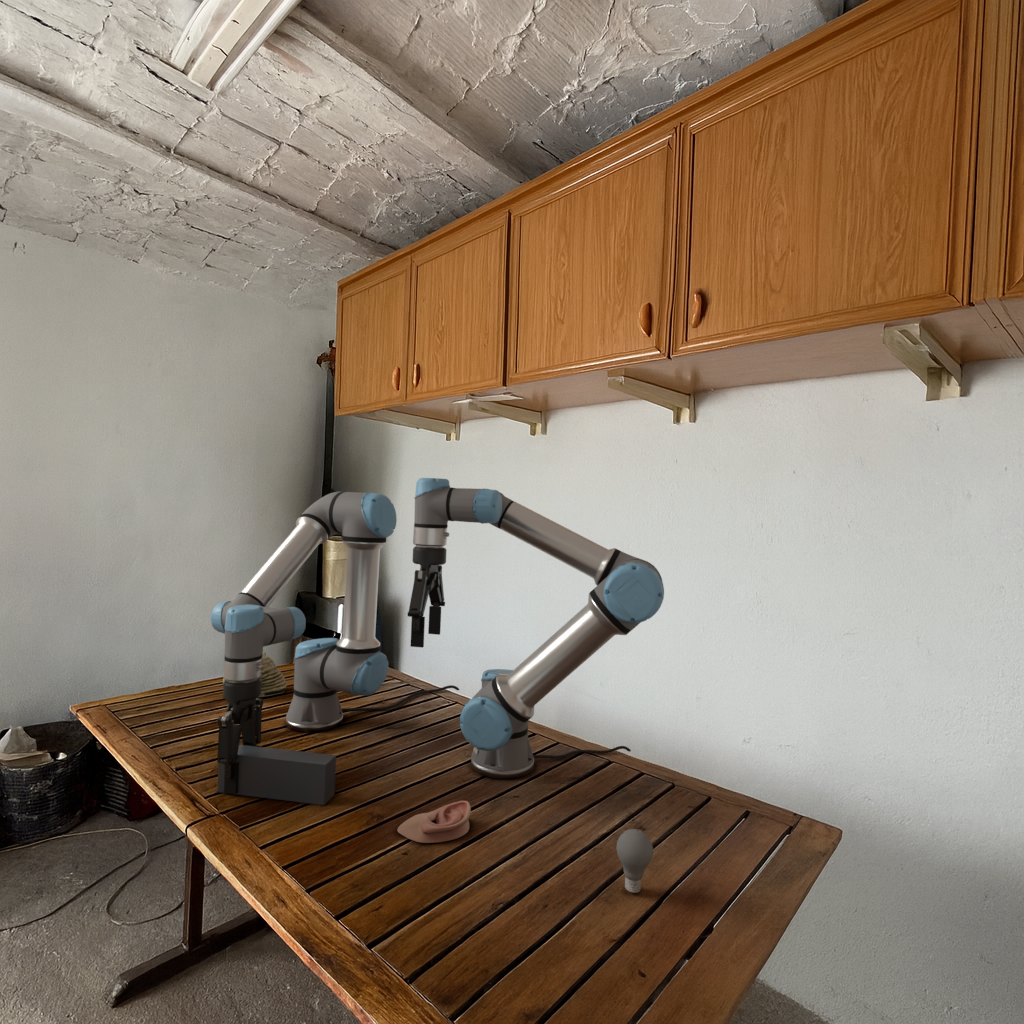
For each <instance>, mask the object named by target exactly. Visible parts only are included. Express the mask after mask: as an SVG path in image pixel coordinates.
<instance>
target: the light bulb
mask: <svg viewBox="0 0 1024 1024" xmlns="http://www.w3.org/2000/svg"><path fill="white" fill-rule="evenodd" d="M615 849H616V854H617V857H618V859H619V861H620V863H621V865H622V867H623V873H624V874H623V875H624V876H625V878H624V888H625V890H627V891H628V892H630V893H634V894H635V893H639V892H640V891H641V889H642V887H641V886H642V879H643V877H644V875H645V871H646V868H647V867H648V866H649V864H650V863H651V861H652V859H653V855H654V847H653V843H652V841H651V838H649V836H648V835H647V834H646V833H645V832H643V831H642V830H641V829H636V828H629V829H627V830H625V831H623V832H622V833H621V834H620V835H619V837H618V839H617V841H616V847H615Z"/></svg>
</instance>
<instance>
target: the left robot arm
mask: <svg viewBox="0 0 1024 1024" xmlns="http://www.w3.org/2000/svg"><path fill="white" fill-rule="evenodd" d="M397 520H398V519H397V512H396V508H395V505H394V504H393V502H392V500H391V499H390V498H389V497H388V496H386V495H385V494H382V493H377V492H372V491H369V492H363V491H362V492H358V491H357V492H356V491H333V492H330V493H328V494H325V495H324V496H322V497H321V498H318V499H317V500H316V501H314V502H313V503H312V504H311V505H309V506H308V507H307V508H306V509H305V510H304V511H303V512H302V514H301V515H299V517H298V518H297V519H296V520H295V527H294V528H293V530H292V531H290V533H289V534H288V535H287V536H286V538H285V539H284V540H283V541H282V543H281V544H280V545H279V546H278V547H277V548H276V549H275V551H274V552H273V553H272V554H271V555H270V557H269V558H267V560H266V561H265V562H264V563H263V564H262V566H261V567H260V568H259V569H258V570H257V572H256V573H255V574H254V575H253V576H252V577H251V578H250V579H249V581H248V582H247V583H246V584H245V585H244V587H242V589H241V590H240V591H239V592H238V594H236V596H235V597H234V598H233V600H227V601H226V600H225V601H221V602H219V603H217V604H216V605H215V607H214V608H213V609H212V612H211V615H210V623H211V626H212V628H213V629H214V630H215V631H216V632H219V633H221V634H224V657H223V659H224V660H223V673H222V674H223V675H222V678H223V677H224V678H225V679H226V680H225V681H224V682H223V681H222V689H223V690H222V698H223V699H224V700H226V701H227V706H226V712H225V714H224V715H223V716H222V715H219V716H218V717H217V725H218V740H217V741H218V742H217V759H216V760H217V764H218V763H222V764H224V765H225V768H224V793H223V794H229V793H232V794H231V795H237V794H236V793H238V773H239V762H237V761H236V760H237V754H238V748H239V745H240V741H242V745H247V746H256V747H261V745H260V744H261V742H262V719H263V715H262V713H263V705H264V699H263V698H260V697H259V696H260V694H261V679H260V678H259V677H260V676H261V672H262V667H263V665H262V654H263V650H264V647H269V646H272V645H276V644H280V643H284V642H290V641H293V640H295V639H297V638H299V637H301V636H302V635H303V634H304V632H305V630H306V624H307V620H306V616H305V613H304V612H303V611H302V610H301V609H300V608H299V607H296V606H284V607H282V608H275V607H270V606H271V605H272V604H273V602H274V601H275V600H276V599H277V597H278V596H279V595H280V593H281V592H283V590H284V588H285V587H286V586H287V585H288V584H289V582H290V581H291V580H292V578H294V576H295V575H296V574H297V572H298V571H299V570H300V569H301V567H302V566H303V565H304V564H305V563H306V561H307V560H308V559H309V558H310V556H311V555H312V554H313V553H314V551H315V550H316V548H317V547H318V546H319V545H320V544H325V543H326V542H327V541H328V540H329V539H330V538H331V537H332V536H335V535H338V534H339V535H341V536H342V537H341V542H342V544H343V545H344V546H345V547H346V549H347V553H346V570H345V586H344V604H343V605H344V606H343V623H342V637H341V638H340V639H339V638H336V637H322V638H313V639H307V640H304V641H302V642H299V643H298V644H297V645H296V647H295V652H294V653H295V654H294V657H293V662H294V663H293V665H294V666H293V695H292V696H293V697H292V699H291V702H290V704H289V707H288V711H287V713H286V715H285V726H286V728H287V729H289V730H291V731H294V732H295V731H296V732H301V733H316V732H325V731H329V730H332V729H335V728H337V727H339V726H340V725H342V723H343V722H344V713H346V712H367V711H384V710H389V709H393V708H396V707H398V706H399V705H401V704H403V703H404V702H406V701H408V700H410V699H412V698H413V697H416V696H419V695H423V694H424V695H425V694H431V693H437V692H441V691H444V690H447V689H454V690H456V691H460V688H459V687H458V686H456V685H452V684H451V685H446V686H443V687H439V688H434V689H429V690H428V689H426V690H421V691H417V692H414V693H411V694H408V695H407V696H406V697H404V698H402V699H400V700H399V701H397V702H395V703H393V704H390V705H385V706H375V707H374V706H373V707H348V708H342V706H341V702H340V699H339V695H338V692H342V693H345V694H350V695H353V696H362V697H369V696H372V695H374V694H376V693H377V692H378V691H379V690H380V689H381V687H382V686H383V684H384V682H385V681H386V679H387V676H388V672H389V659H388V657H387V655H386V654H385V653H384V652H381V642H380V641H379V640H378V638H377V637H376V631H377V630H376V627H377V625H376V624H377V610H378V593H379V575H380V557H381V555H380V554H381V550H382V548H383V547H384V546H385V545H386V544H387V538H389V537H391V536H392V535H393V533H395V532H394V531H395V529H396V527H397ZM343 712H344V713H343Z"/></svg>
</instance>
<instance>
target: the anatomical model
mask: <svg viewBox="0 0 1024 1024" xmlns="http://www.w3.org/2000/svg"><path fill="white" fill-rule="evenodd" d="M471 813H472V808H471V804H470V802H469V801H468V800H459V801H454V802H451V803H449V804H446V805H442V806H441V807H439V808H436V809H434V810H432V811H429V812H421V813H417V814H415V815H413V816H411V817H409V818H407V819H406V820H405V821H403V822H402V823H401V824H400V825H399V826H398V827H397V829H396V830H397V833H398V834H400V835H401V836H403V837H404V838H406V839H408V840H410V841H414V842H416V843H419V844H434V843H443V842H448V841H452V840H456V839H459V838H461V837H463V836H465V835H466V834H467V833H469V830H470V821H469V819H470V817H471Z"/></svg>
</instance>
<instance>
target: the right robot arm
mask: <svg viewBox="0 0 1024 1024" xmlns="http://www.w3.org/2000/svg"><path fill="white" fill-rule="evenodd" d="M448 522H461V523H462V522H463V523H477V524H478V523H479V524H481V525H482V524H489V525H492V526H493V527H495V528H497V529H499V530H501V531H504V532H505V533H507V534H509V535H511V536H513V537H515V538H517V539H519V540H521V541H522V542H524V543H526V544H528V545H530V546H532V547H534V548H536V549H537V550H539V551H541V552H543V553H545V554H546V555H548V556H550V557H552V558H554V559H556V560H558V561H559V562H562V563H564V564H565V565H567V566H569V567H571V568H573V569H575V570H576V571H579V572H580V573H582V574H584V575H586V576H588V577H590V578H592V579H593V580H594V584H595V585H596V586H595V587H594V588H593V589H592V590H591V591H589V592H588V598H587V599H588V601H587V604H586V605H585V606H584V607H582V609H580V610H579V611H578V612H576V614H575V615H573V616H572V618H570V619H569V620H568V621H567V622H566V623H564V625H562V626H561V627H559V629H558V630H556V632H555V633H554V634H552V635H551V636H550V637H548V639H547V640H546V641H544V642H543V643H542V644H541V645H540V646H539V647H537V649H536V650H534V651H533V652H532V653H531V654H530V655H529V656H527V658H526V659H524V660H523V661H522V662H521V663H520V664H519V665H518V666H517V667H515V668H514V669H503V668H491V669H486V670H484V671H483V672H482V676H481V679H480V681H481V688H480V689H479V690H478V691H477V692H476V693H475V694H474V695H473V696H472V698H470V699H469V700H468V701H467V702H465V704H463V705H464V706H463V707H462V710H461V712H460V716H459V727H460V730H461V733H462V735H463V737H464V739H465V740H466V741H467V742H468V743H469V744H470V745H471V746H473V750H472V753H471V756H470V767H471V769H472V770H473V771H474V772H476V773H477V774H479V775H481V776H484V777H487V778H491V779H498V780H499V779H500V780H501V779H502V780H512V779H518V778H522V777H524V776H527V775H529V774H531V773H532V772H533V770H534V769H535V759H552V760H553V759H554V760H555V759H557V760H558V759H563V758H567V757H570V756H572V755H575V754H585V753H586V754H610V753H613V752H615V751H618V750H625V751H627V752H629V753H630V752H632V750H631V749H630V748H629V747H628V746H625V745H619V746H616V747H613V748H610V749H605V750H600V749H599V750H598V749H597V750H596V749H594V750H593V749H576V750H572V751H569V752H568V753H564V754H559V755H553V754H551V755H549V754H533V750H532V746H531V743H530V739H529V734H528V733H529V720H531V719H533V717H534V716H535V706H536V705H537V704H538V703H539V702H540V701H542V700H543V699H544V698H545V697H546V696H547V695H548V694H550V693H551V691H553V690H554V689H555V688H556V687H558V686H559V685H560V684H561V683H562V682H563V681H564V680H565V679H567V678H568V677H569V676H570V675H571V674H572V673H574V671H575V670H577V669H578V668H579V667H581V665H583V664H584V663H585V662H586V661H587V660H589V658H591V657H592V656H593V655H594V654H595V653H596V652H597V651H599V650H601V648H602V647H603V646H604V645H606V644H607V643H608V642H609V641H610V640H611V639H612V638H614V636H617V635H618V636H627V635H629V633H631V632H632V631H633V630H634V629H635V628H636V627H638V626H639V625H640V624H641V623H643V622H646V621H647V620H650V619H651V618H653V617H654V616H655V615H656V614H657V613H658V611H659V610H660V608H661V607H662V604H663V601H664V597H665V586H664V582H663V578H662V576H661V573H660V571H659V570H658V568H656V566H655V565H654V564H652V563H651V562H650V561H648V560H645V559H642V558H639V557H637V556H633V555H631V554H628V553H626V552H624V551H623V550H622V551H621V550H620V549H618V548H616V547H614V548H610V549H608V548H606V547H604V546H602V545H601V544H598V543H596V542H595V541H593V540H591V539H588V538H587V537H585V536H583V535H581V534H579V533H577V532H575V531H573V530H572V529H569V528H567V527H565V526H564V525H561V524H559V523H558V522H556V521H553V520H551V519H550V518H548V517H546V516H544V515H542V514H540V513H538V512H537V511H534V510H532V509H530V508H528V507H526V506H525V505H522V504H521V503H518V502H516V501H514V500H512V499H511V498H509V497H507V496H505V495H504V494H503V493H502V492H500V491H499V490H497V489H490V488H471V487H470V488H464V487H463V488H462V487H461V488H459V487H458V488H457V487H452V486H451V485H450V480H449V479H448V478H441V477H440V478H439V477H420V478H418V479H417V481H416V485H415V493H414V524H413V534H412V535H413V536H412V537H413V538H412V544H413V545H415V546H414V547H413V548H412V563H413V564H415V565H419V566H420V567H419V569H415V571H414V577H413V578H414V580H413V585H412V591H411V596H410V602H409V606H408V611H407V617H411V625H410V647H411V648H424V645H425V626H426V625H425V623H426V620H425V619H426V616H424V614H425V611H426V608H427V607H426V606H427V603H428V598H429V601H430V605H429V609H428V611H429V612H428V632H427V633H428V634H427V635H437V636H438V635H439V636H440V635H441V624H442V607H445V606H446V601H445V593H444V585H443V583H444V582H443V565H445V564H446V563H447V548H446V547H445V546H446V545H448V543H447V540H448V537H450V533H449V532H448V524H449V523H448Z"/></svg>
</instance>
